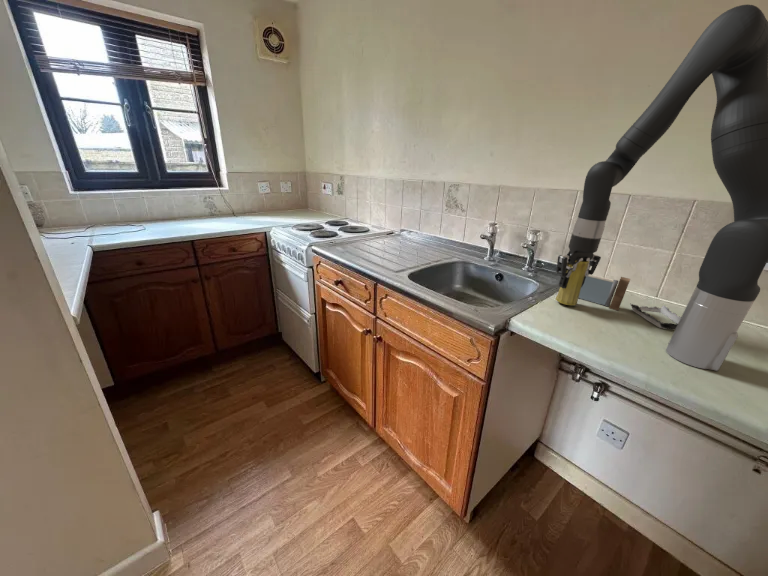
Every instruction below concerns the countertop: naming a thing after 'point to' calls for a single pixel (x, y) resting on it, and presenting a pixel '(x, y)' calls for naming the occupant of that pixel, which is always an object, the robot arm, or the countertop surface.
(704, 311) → the robot arm
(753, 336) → the countertop surface
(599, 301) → the grey flat panel
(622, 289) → the gate post
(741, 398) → the countertop surface
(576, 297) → the vase
